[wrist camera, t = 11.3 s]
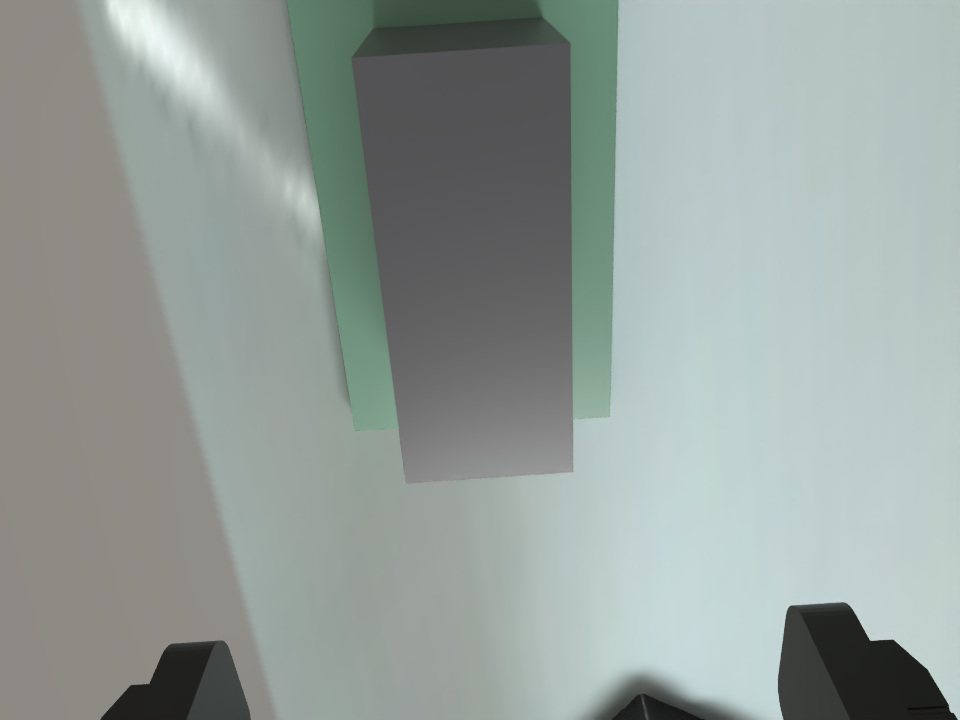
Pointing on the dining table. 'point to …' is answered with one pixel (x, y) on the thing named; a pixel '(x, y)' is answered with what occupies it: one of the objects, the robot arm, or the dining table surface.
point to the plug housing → (473, 241)
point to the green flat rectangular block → (345, 199)
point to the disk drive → (652, 711)
